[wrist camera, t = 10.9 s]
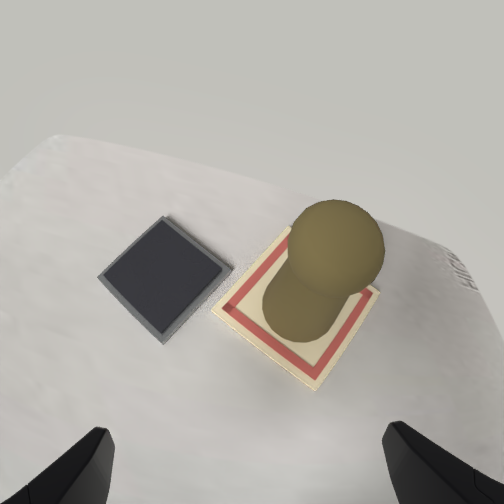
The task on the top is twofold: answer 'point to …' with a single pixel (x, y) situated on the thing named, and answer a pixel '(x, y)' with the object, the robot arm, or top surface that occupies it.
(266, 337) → the print card
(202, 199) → the top surface
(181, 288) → the ink pad
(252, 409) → the top surface
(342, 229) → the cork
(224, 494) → the top surface
